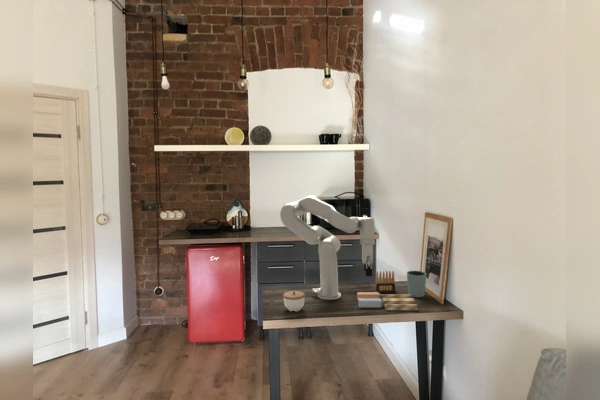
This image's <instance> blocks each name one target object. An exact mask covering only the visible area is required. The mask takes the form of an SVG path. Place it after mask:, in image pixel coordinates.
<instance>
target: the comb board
mask: <svg viewBox="0 0 600 400" xmlns="http://www.w3.org/2000/svg"><path fill="white" fill-rule="evenodd" d="M381 300H383V301H384V306H383V307H384V308H385V311H419V309H418V307H419V305H418V303H417V304H416V300H415V298H414V297H412V296H411V294H408V293H407V294H404V293H403V294H393V293H392V294H388V293H386V294H381Z"/></svg>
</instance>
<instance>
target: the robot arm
mask: <svg viewBox="0 0 600 400" xmlns="http://www.w3.org/2000/svg"><path fill="white" fill-rule="evenodd" d="M279 213H280V214H279V215H280V216H279V217H280V220H281V222H282V224H283V225H284V227H286V228H287V229H288V230H289V231H290V232H292V233H294V234H295V235H296V236H297V237H298V238H300V239H301V240H303V241H305V242H306V243H307V244H308V245H311V246H312V245H316V244H317V245H318V249H317V253H318V259H319V276H320V277H319V278H320V279H319V280H320V282H319V283H320V287H318V288H312V289H311V290H312V293H314V294H317V298H319V299H321V300H327V301H331V300H332V301H333V300H338V299H340V298H341V297H342V293H341V292H339V279H338V278H339V273H338V272H339V270H338V257H337V252H339V250H340V249H341V241H340V239H339V238H338V237H337V236H335V235H334V234H332V233H331V232H330V231H328V230H327V229H325V228H324V227H322V226H320V225H313V226H312V225H310V224H308V223H307V222H305V220H303V219H301V218H299V216H302V215H305V214H309V213H310V214H312V215H314V216H316V217H318V218H319V219H322V220H324V221H326V222H327V223H329V224H330V225H331V226H333V227H334V228H336V229H339V230H340V231H343V232H344V233H346V234H347V233H348V234H351V233H355V232H356V231H359V244H360V245H361V260H362V264H363V266H364V267H363V270H364V272H365V277H372V276H373V267H372V266H373V265H372V264H373V263H374V259H373V258H374V254H373V253H374V251H373V250H374V247H373V245H375V244H376V240H375V239H376V237H375V235H376V234H375V229H376V228H375V218H373V217H370V216H369V217H368V216H366V217H365V216H364V217H359V216H350V217H348V216H345V215H344V214H341V212H339V211H337V210H336V209H335V207H334V206H333V205H331V204H329V203H327V202H325V201H322V200H321V199H320V198H319V196H316V195H313V194H311V195H308V196H305V197H304V198H301V199H299V200H296V201H292V202H288V203H286V204H284V205H283V206H282V207H281V209H280V212H279Z"/></svg>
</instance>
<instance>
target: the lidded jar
mask: <svg viewBox="0 0 600 400" xmlns="http://www.w3.org/2000/svg"><path fill="white" fill-rule="evenodd" d="M305 296H306V294H305V292H303V291H300V290H290V291H286V292H284V293H283V295H282V297H283V304H284V307H285V308H286V309H287V310H288V311H289V312H292V311H295V312H300V311H301V309H302V308H303V307H304V305H305V300H306V299H305V298H306V297H305Z"/></svg>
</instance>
